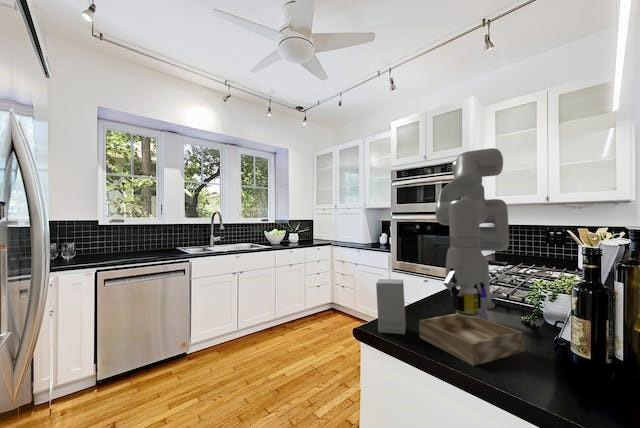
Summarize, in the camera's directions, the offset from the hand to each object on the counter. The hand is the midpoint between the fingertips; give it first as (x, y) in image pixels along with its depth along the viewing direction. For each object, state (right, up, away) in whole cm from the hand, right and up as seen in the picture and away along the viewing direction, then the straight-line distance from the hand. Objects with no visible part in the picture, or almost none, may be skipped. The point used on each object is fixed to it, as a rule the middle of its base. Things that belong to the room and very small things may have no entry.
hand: (467, 308), depth 77 cm
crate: (0, -10, 0) cm, 10 cm away
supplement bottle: (0, -2, 0) cm, 2 cm away
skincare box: (-18, -11, +11) cm, 24 cm away
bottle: (+12, -10, +16) cm, 23 cm away
